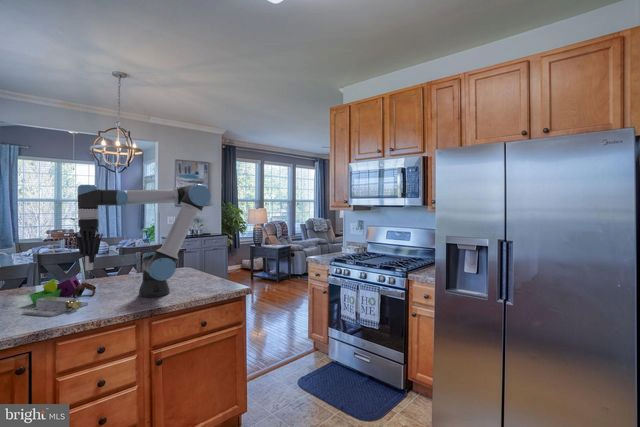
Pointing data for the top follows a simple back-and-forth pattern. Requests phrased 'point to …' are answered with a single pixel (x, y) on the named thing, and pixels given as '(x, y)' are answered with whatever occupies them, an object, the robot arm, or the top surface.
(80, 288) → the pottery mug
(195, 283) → the top surface
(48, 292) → the fruit basket
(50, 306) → the hinge
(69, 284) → the mounting bracket
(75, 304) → the pin
